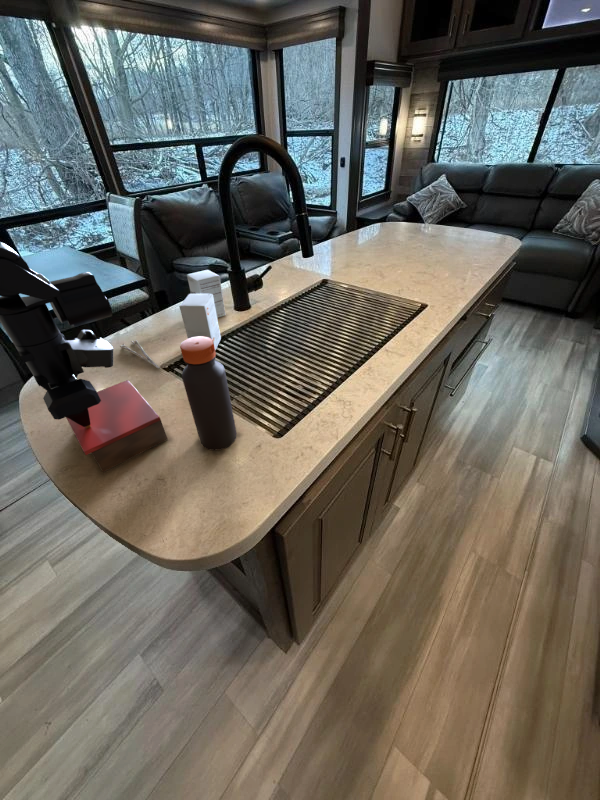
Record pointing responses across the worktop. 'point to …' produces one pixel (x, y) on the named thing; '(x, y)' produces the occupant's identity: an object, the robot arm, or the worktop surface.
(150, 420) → the lid
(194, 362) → the dark bottle
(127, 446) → the valve box
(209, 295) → the small box
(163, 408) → the worktop surface
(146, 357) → the tweezers
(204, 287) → the white packaging box
